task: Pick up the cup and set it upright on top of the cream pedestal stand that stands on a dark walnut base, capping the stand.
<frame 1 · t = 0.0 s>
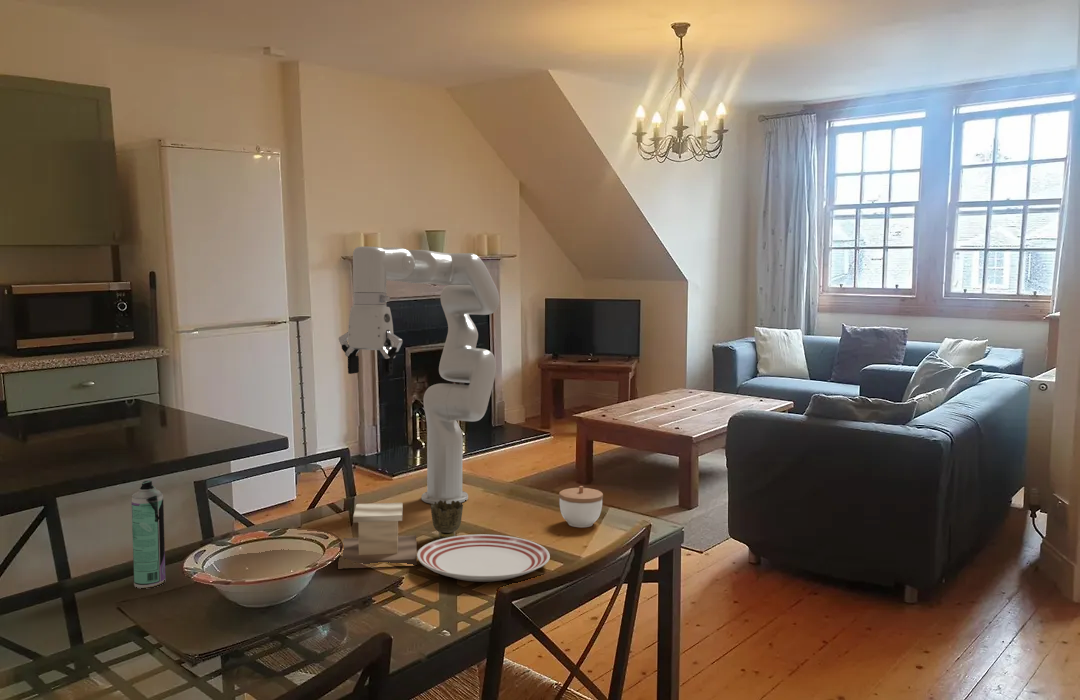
hand: (370, 374, 186), 37 cm above the table, tool pointing down, fingers open, 9 cm apart
cream pedestal stand: (378, 555, 172), on the table
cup: (446, 538, 185), on the table
lidded jar: (580, 524, 197), on the table
spray can: (149, 584, 155), on the table
dinner plate: (483, 568, 166), on the table
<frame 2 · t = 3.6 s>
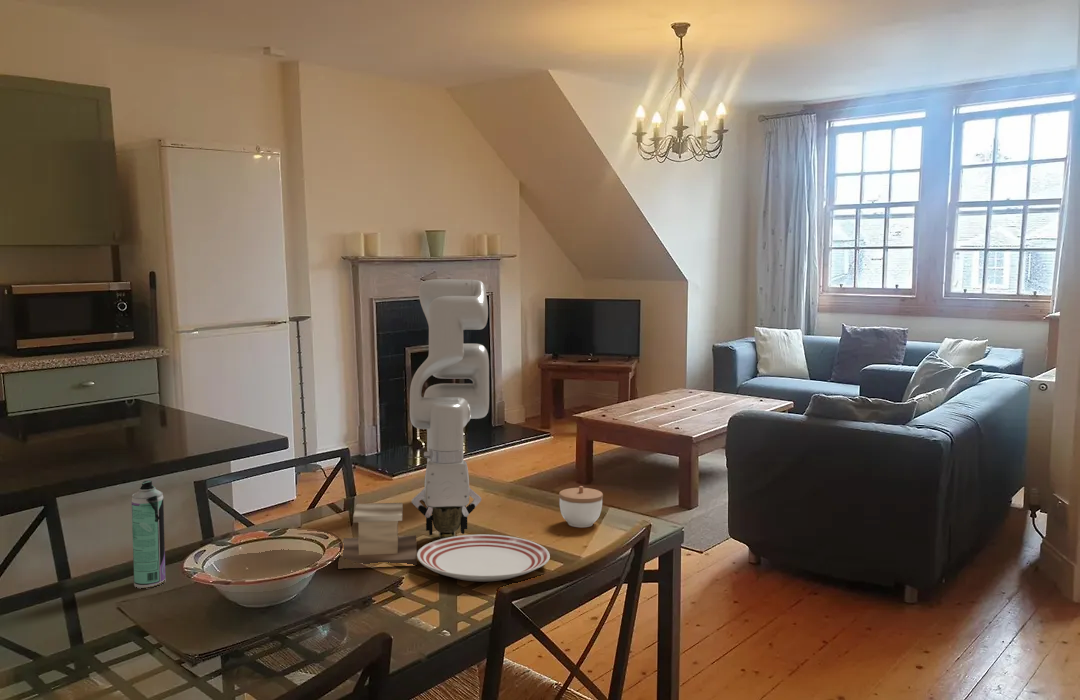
hand: (446, 532, 184), 1 cm above the table, tool pointing down, fingers closed on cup, 6 cm apart
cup: (447, 538, 184), on the table, touching gripper
everything else where it was.
when the fingers open (12 cm above the table, at t = 8.4 s): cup drops 1 cm, resting on cream pedestal stand.
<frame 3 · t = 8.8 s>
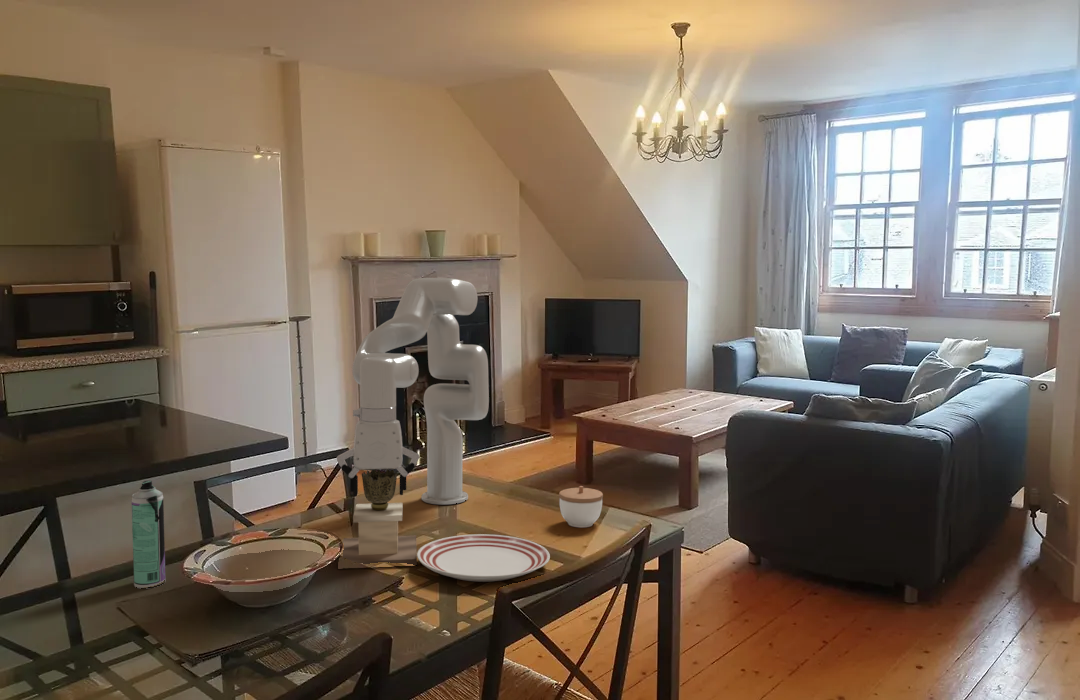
hand: (378, 494, 171), 13 cm above the table, tool pointing down, fingers open, 9 cm apart
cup: (379, 510, 172), point 10 cm above the table, touching cream pedestal stand
everything else where it was.
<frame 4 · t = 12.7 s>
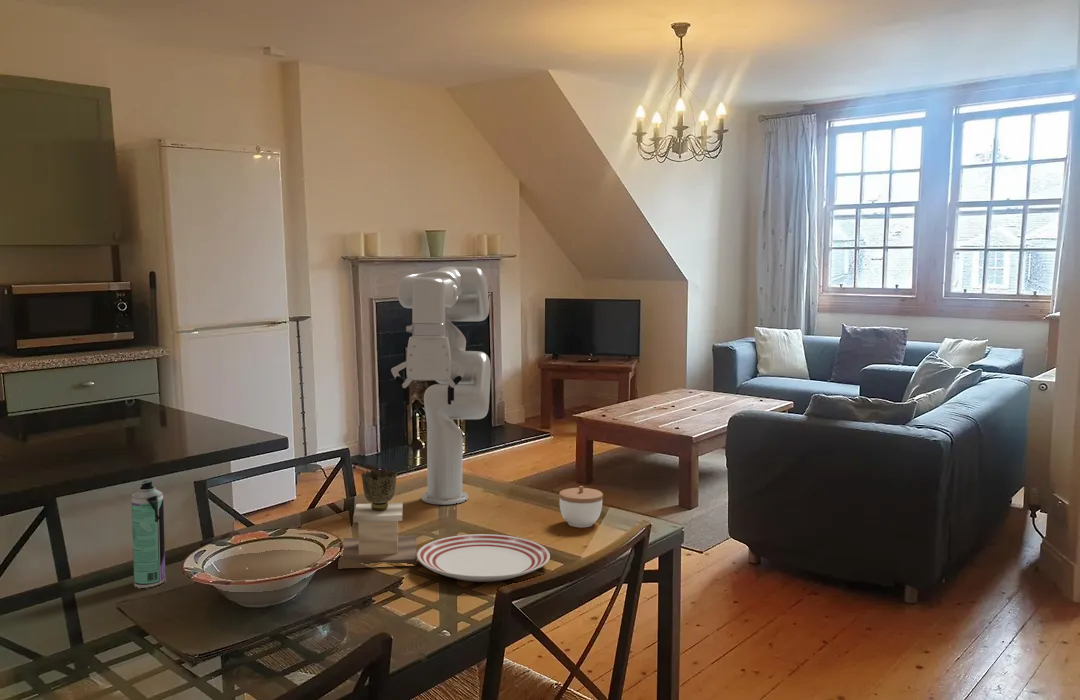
hand: (428, 404, 187), 30 cm above the table, tool pointing down, fingers open, 9 cm apart
nothing on the table moved.
at the end: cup 0.3 cm from the cream pedestal stand (horizontally); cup point 9.8 cm above the table; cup tilted 0° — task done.
